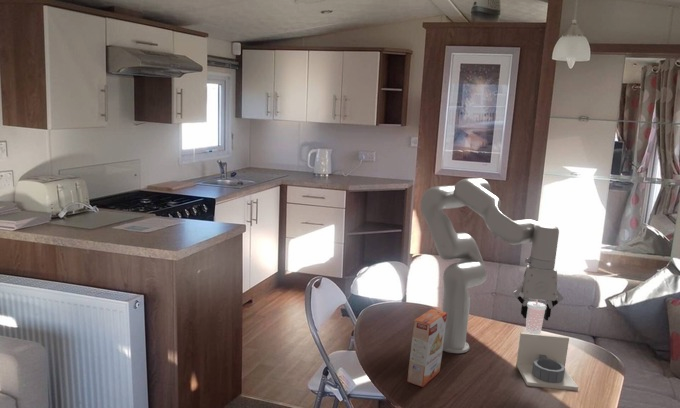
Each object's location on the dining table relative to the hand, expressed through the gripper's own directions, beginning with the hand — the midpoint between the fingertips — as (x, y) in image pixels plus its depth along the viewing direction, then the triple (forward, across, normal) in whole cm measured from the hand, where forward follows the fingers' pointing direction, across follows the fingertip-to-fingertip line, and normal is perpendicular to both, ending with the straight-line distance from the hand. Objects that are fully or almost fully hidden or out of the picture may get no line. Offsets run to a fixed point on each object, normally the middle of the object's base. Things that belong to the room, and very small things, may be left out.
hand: (535, 317), depth 185 cm
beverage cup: (+5, 0, 0) cm, 5 cm away
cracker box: (+22, -34, -6) cm, 40 cm away
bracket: (+22, +7, +4) cm, 23 cm away
